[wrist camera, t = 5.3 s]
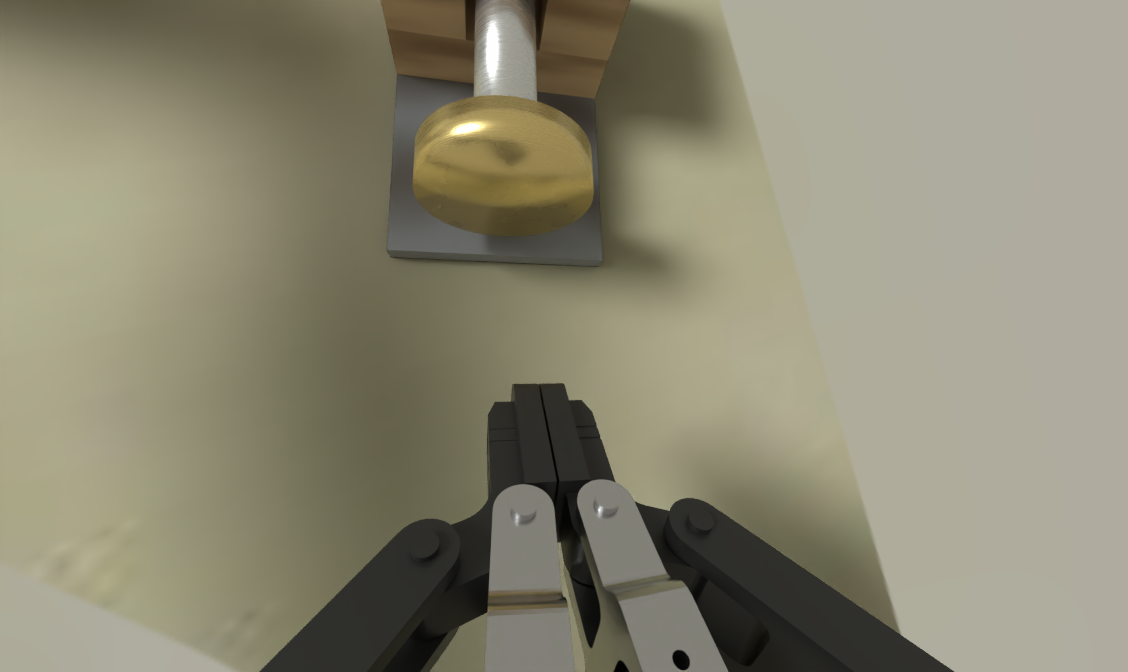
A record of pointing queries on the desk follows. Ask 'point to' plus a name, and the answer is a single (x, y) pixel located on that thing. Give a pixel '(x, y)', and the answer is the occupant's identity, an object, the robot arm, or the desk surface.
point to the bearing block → (446, 74)
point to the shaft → (503, 141)
